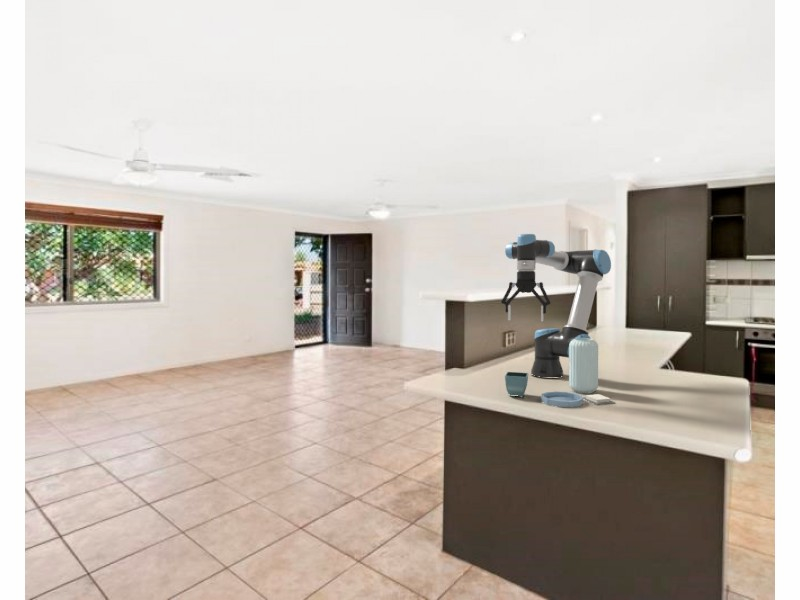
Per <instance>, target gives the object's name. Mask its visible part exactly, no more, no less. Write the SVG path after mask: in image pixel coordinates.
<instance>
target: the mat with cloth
mask: <svg viewBox="0 0 800 600" xmlns="http://www.w3.org/2000/svg"><path fill="white" fill-rule="evenodd" d="M582 397H583V396H582ZM583 399H585V400H584V401H586V400H587V401H586V402H588V401H589V403H591V402H592V403H591V404H593V403H594V404H593V405H596V404H597V405H596V406H600V404H604V405H612V403H614V404H616V401H613V400H611V398H610V397H608V396H604V395H602V394H600V393H598V394H585V396H584V397H583ZM610 403H611V404H610Z"/></svg>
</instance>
